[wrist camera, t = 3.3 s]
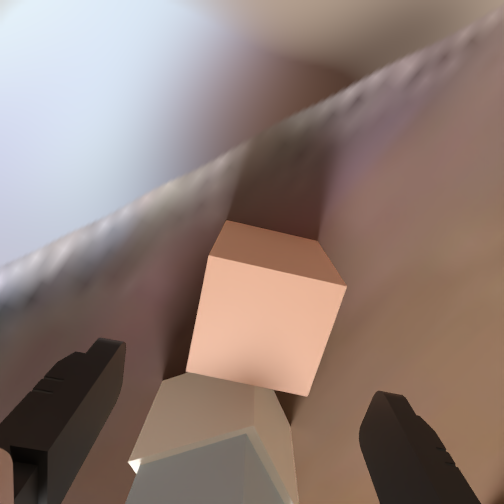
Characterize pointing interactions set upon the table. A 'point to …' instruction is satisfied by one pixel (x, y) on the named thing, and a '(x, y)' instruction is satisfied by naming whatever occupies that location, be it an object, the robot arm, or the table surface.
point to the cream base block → (218, 425)
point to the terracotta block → (265, 309)
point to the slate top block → (206, 477)
